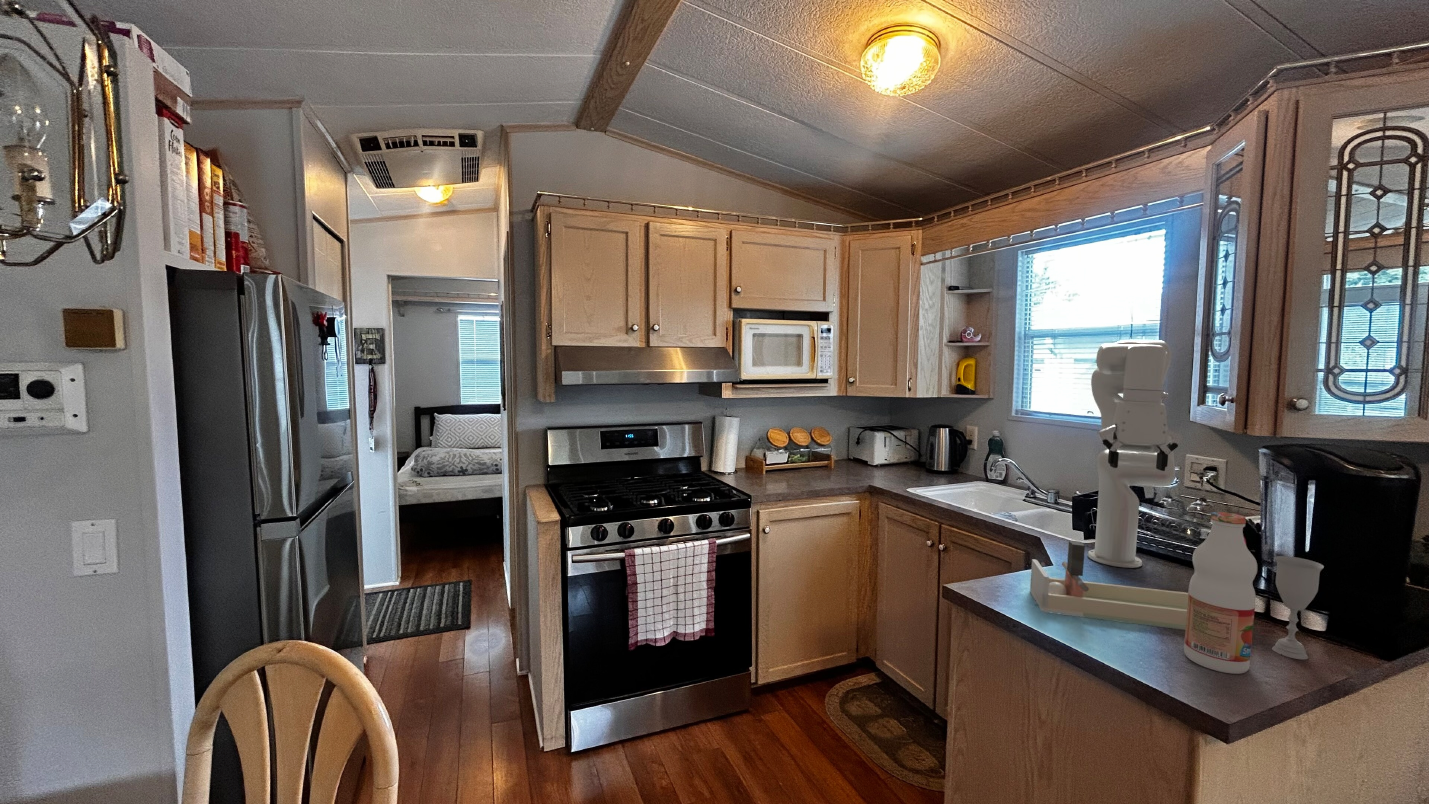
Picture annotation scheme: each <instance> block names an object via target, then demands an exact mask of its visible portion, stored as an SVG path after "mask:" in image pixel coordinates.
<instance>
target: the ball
mask: <svg viewBox="0 0 1429 804" xmlns="http://www.w3.org/2000/svg"><path fill="white" fill-rule="evenodd" d="M1048 593H1050V594H1058V595H1066V589H1065V587H1064V586H1063V585H1062V584H1061V583H1059V582H1051V583H1049V592H1048Z"/></svg>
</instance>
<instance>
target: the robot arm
mask: <svg viewBox="0 0 1429 804" xmlns="http://www.w3.org/2000/svg"><path fill="white" fill-rule="evenodd" d="M1171 360H1172V351H1171V348H1170V345H1168V343H1167V342H1166V341H1163V340H1159V339H1155V340H1154V339H1124V340H1119V341H1117V342H1113V343H1111V342H1110V343H1103V344H1101V345H1100V346H1099V348H1098V350H1097V353H1096V359H1095V361H1096V367H1097V368H1096V369H1095V370H1094V371H1093V372H1092V374H1091V379H1090V383H1091V384H1090V386H1091V392H1092V393H1091V394H1092V396H1093V399H1094V401H1095V402H1094V403H1095V404H1096V405H1097V407H1098V410H1099V413H1100V424H1101V430H1099V431H1097V432H1096V433H1097V436H1098V438H1099V440H1100V442H1101V444H1102V445H1103V446H1104V448H1106V449H1104V450H1102V451H1101V452H1100V453H1098V455H1097V460H1096V468H1097V475H1098V476H1097V477H1098V494H1097V495H1098V498H1097V513H1096V528H1095V540H1094V541H1095V543H1094V549H1090V550H1088V552H1087V557H1088V558H1089V559H1090V560H1093V561H1094V562H1097V563H1100V564H1102V565H1106V566H1107V565H1108V566H1112V567H1118V568H1123V569H1124V568H1125V569H1127V568H1130V569H1133V568H1135V569H1136V568H1140V567H1142V565H1143V561H1142V559H1141V558H1139V557H1138V556H1136V552H1137V542H1138V541H1137V538H1138V529H1139V514H1140V499H1139V498H1138V496H1137V494H1136V493H1135V492H1134V491H1133V490H1132V488H1130V486H1131V485H1133V486H1136V485H1137V486H1147V487H1155V488H1156V487H1157V488H1164V487H1168V486H1170V485H1172V484H1173V482H1174V480H1175V477H1176V464H1175V458H1174V457H1175V456H1174V451H1175V450H1176V449H1177V448H1178V447H1179V445H1180V444H1181V442H1182V441H1183V439H1184V436H1183V435H1181V434H1179V433H1178V432H1175V431H1173V430H1171V429H1169V428H1168V419H1167V410H1166V405H1165V404H1164V403H1162V402H1164V401H1163V400H1165V399H1166V400H1168V399H1169V398H1170V394H1169V392H1168V393H1167V392H1164V390H1163V389H1164V388H1163V387H1164V384H1165V380H1166V377H1167V374H1168V371H1169V368H1170V365H1171ZM1120 394H1121V395H1120ZM1122 394H1123V395H1122Z"/></svg>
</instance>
